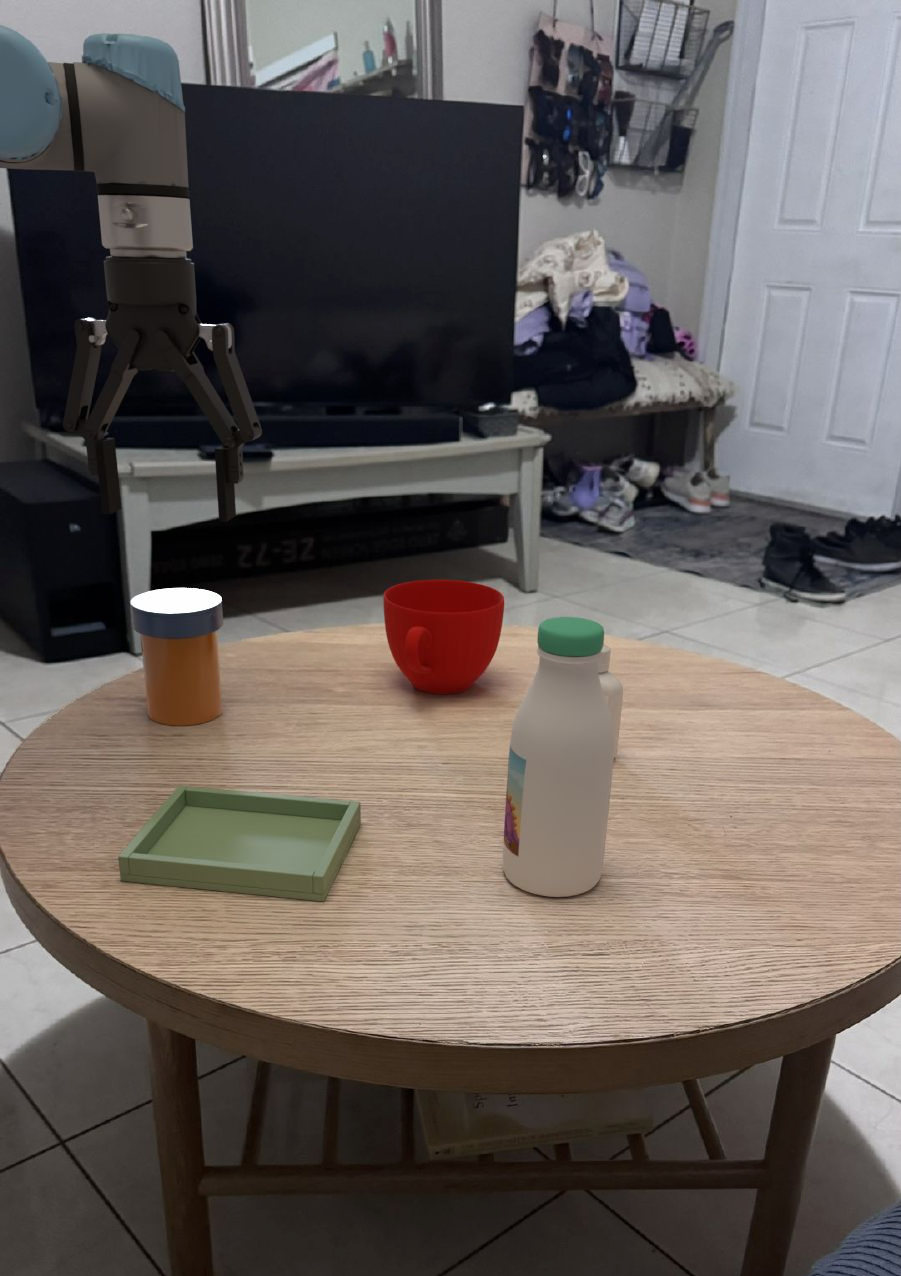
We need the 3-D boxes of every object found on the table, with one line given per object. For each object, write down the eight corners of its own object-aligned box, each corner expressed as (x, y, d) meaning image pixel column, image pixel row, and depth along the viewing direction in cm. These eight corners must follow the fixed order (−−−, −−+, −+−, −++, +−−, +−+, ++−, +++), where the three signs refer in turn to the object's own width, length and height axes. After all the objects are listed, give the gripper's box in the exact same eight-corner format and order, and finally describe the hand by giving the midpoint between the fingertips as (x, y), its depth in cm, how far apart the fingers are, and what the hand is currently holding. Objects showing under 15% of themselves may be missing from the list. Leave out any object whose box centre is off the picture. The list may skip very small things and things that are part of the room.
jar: (136, 722, 111) (125, 613, 106) (164, 696, 118) (154, 592, 113) (208, 728, 110) (200, 618, 105) (231, 702, 117) (225, 597, 112)
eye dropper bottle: (578, 767, 105) (589, 644, 99) (555, 744, 109) (564, 626, 104) (621, 763, 106) (634, 641, 101) (596, 740, 111) (607, 623, 105)
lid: (117, 635, 107) (114, 609, 106) (152, 609, 114) (149, 585, 113) (206, 641, 106) (204, 616, 105) (234, 615, 113) (233, 591, 112)
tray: (120, 880, 84) (117, 856, 83) (180, 807, 95) (178, 784, 94) (323, 901, 82) (323, 876, 81) (360, 824, 93) (360, 801, 92)
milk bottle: (617, 867, 88) (644, 620, 79) (575, 910, 82) (600, 649, 73) (529, 841, 91) (546, 602, 82) (483, 881, 85) (496, 628, 76)
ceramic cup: (350, 707, 117) (349, 614, 112) (407, 658, 131) (408, 574, 127) (469, 725, 113) (473, 630, 109) (513, 673, 128) (518, 587, 123)
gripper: (-2, 250, 94) (34, 515, 103) (267, 259, 91) (277, 531, 101) (40, 250, 100) (70, 500, 110) (291, 259, 98) (299, 514, 107)
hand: (169, 515), depth 105 cm, fingers open, 11 cm apart
